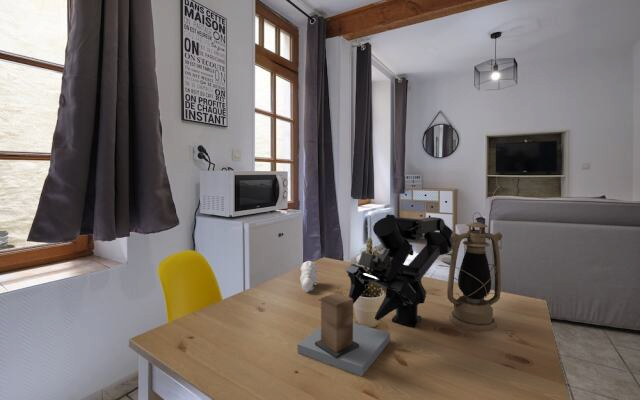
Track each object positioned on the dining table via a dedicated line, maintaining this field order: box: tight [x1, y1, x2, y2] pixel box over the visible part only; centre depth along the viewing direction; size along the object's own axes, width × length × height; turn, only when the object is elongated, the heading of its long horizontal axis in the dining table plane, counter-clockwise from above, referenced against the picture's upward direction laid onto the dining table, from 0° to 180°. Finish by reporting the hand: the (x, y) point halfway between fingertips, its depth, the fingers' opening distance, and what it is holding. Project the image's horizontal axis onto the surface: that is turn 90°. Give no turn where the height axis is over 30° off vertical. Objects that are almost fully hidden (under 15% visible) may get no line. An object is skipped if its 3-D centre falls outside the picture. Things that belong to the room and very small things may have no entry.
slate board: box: [296, 322, 391, 377], centre depth 75 cm, size 16×16×2 cm
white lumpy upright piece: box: [299, 260, 319, 293], centre depth 113 cm, size 6×8×12 cm
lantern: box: [446, 212, 503, 332], centre depth 87 cm, size 14×12×30 cm
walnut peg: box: [315, 292, 359, 358], centre depth 71 cm, size 7×7×13 cm
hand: (361, 312), depth 76 cm, fingers open, 9 cm apart
